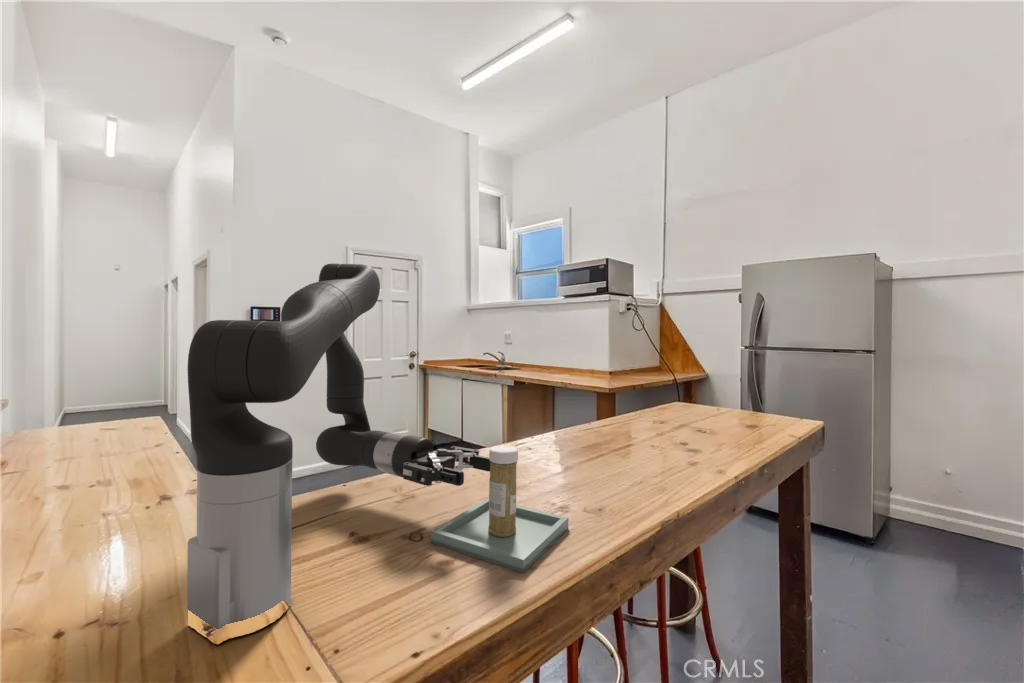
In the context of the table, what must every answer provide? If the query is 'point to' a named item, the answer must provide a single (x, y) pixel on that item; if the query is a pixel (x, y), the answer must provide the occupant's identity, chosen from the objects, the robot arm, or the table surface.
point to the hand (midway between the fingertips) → (478, 471)
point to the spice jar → (502, 490)
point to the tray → (510, 551)
